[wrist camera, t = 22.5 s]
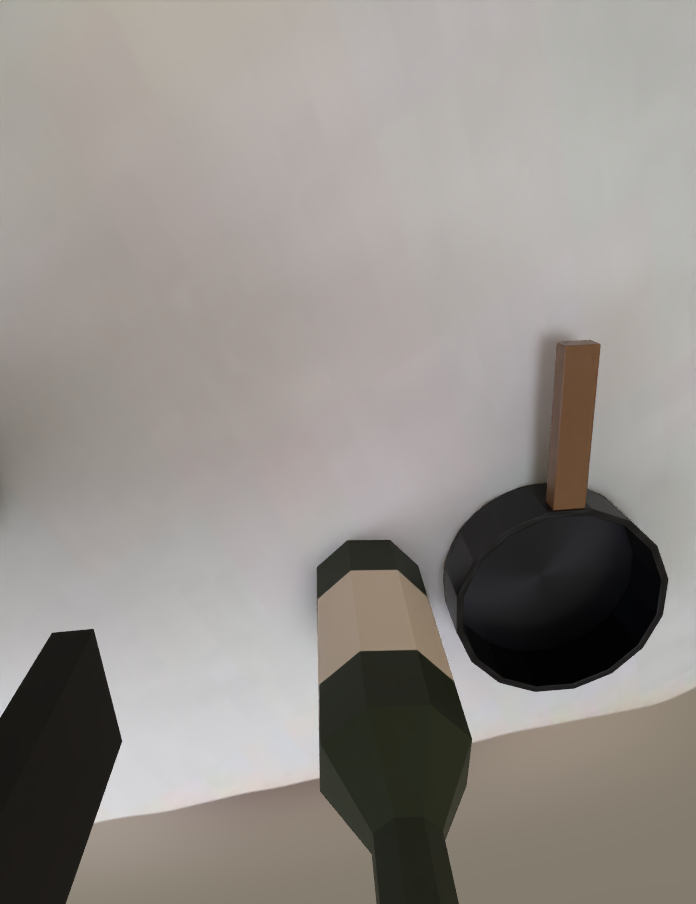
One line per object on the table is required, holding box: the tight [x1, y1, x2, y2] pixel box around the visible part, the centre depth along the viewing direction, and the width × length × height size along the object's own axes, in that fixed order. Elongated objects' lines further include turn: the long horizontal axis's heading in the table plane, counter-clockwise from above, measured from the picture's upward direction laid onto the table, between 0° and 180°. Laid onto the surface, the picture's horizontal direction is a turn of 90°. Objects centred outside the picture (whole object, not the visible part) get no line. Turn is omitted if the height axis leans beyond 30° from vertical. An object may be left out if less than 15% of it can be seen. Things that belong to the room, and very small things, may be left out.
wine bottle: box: [317, 540, 472, 904], centre depth 33 cm, size 8×8×30 cm
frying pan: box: [444, 340, 668, 692], centre depth 43 cm, size 26×15×5 cm, turn 3°
